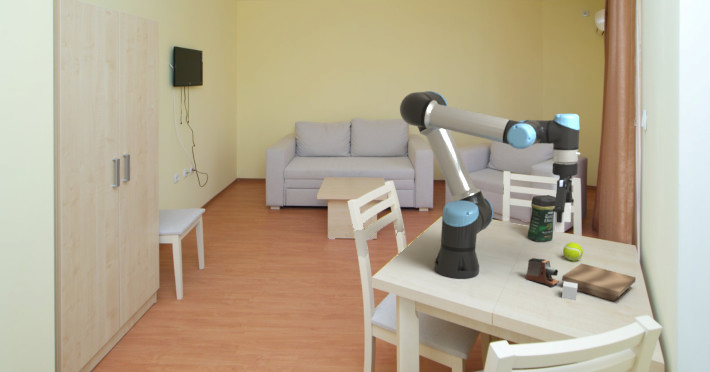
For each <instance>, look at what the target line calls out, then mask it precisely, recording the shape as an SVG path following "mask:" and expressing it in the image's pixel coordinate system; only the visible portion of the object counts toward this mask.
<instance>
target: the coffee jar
mask: <svg viewBox="0 0 710 372" xmlns="http://www.w3.org/2000/svg"><path fill="white" fill-rule="evenodd" d="M555 200H556V196H552V195H551V194H550V195H549V194H547V195H546V194H545V195H535V196H532V199H531V204H530V206H531V215H530V221H529V226H528V231H527V238H528V239H529V240H531V241H533V242H535V241H536V242H538V243H542V242H544V243H545V242H549V241H552V240H553V237H554V236H553V235H554V218H555V212H553V209H554V208H555Z"/></svg>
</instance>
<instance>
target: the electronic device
mask: <svg viewBox="0 0 710 372" xmlns="http://www.w3.org/2000/svg"><path fill="white" fill-rule="evenodd" d="M526 271H527V272H526V275H525V276H526V277H525V279H526V280H528V281H532V282H536V283H539V284H543V285H547V287H549V288H553V287H554V286H556V285H557V284H558V283H560V281H559V280H558V279H556V278H554V277H553V276H558V273H559V270H558V269H555V268H554V267H553V268H552V266H551V261H550V260H549V259H544V258H543V259H541V258H535V257H532V258H530V259H528V265H527V270H526Z"/></svg>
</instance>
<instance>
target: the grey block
mask: <svg viewBox="0 0 710 372" xmlns="http://www.w3.org/2000/svg"><path fill="white" fill-rule="evenodd" d="M577 286H578V283H571V282H566V281H563V284H562V292H561V293H562V294H561V299H567V300H572V301H576V300H577V295H578V290H577Z"/></svg>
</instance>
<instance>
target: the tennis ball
mask: <svg viewBox="0 0 710 372" xmlns="http://www.w3.org/2000/svg"><path fill="white" fill-rule="evenodd" d="M562 251H563V253H562V254H563V255H564V257H565V258H566V260H569V261H572V262H575V261H578V260H580V259H581V258H582V257H583V254H584V250H583V248H582V246H581V245H580V244H579V243H577V242H568V243H566V245H564V247H563V250H562Z"/></svg>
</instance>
